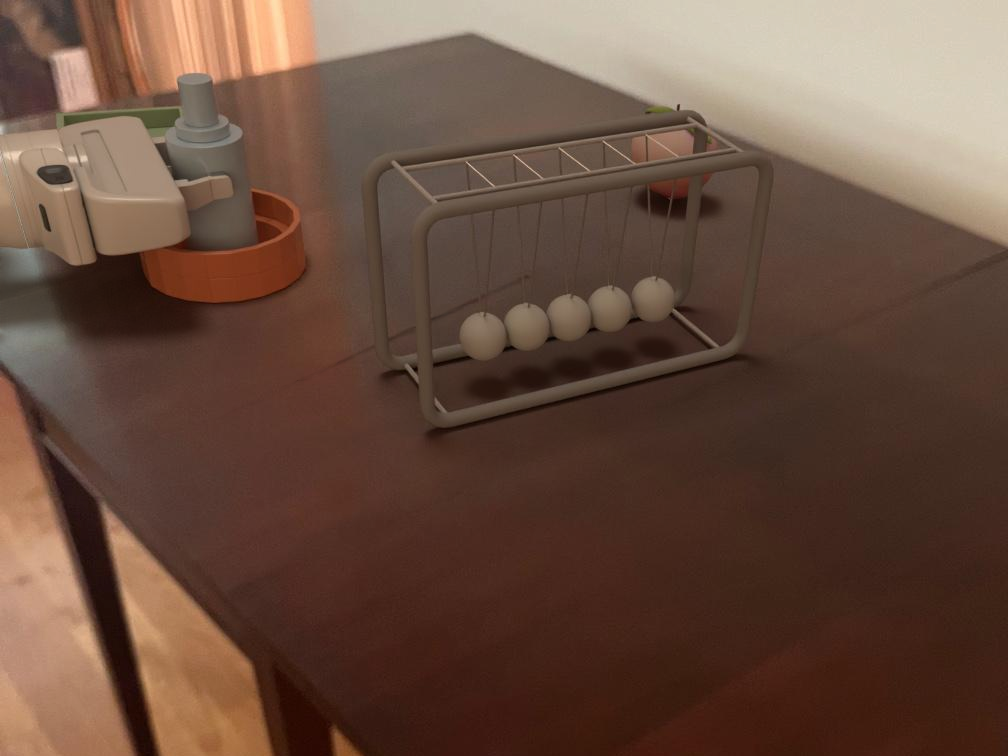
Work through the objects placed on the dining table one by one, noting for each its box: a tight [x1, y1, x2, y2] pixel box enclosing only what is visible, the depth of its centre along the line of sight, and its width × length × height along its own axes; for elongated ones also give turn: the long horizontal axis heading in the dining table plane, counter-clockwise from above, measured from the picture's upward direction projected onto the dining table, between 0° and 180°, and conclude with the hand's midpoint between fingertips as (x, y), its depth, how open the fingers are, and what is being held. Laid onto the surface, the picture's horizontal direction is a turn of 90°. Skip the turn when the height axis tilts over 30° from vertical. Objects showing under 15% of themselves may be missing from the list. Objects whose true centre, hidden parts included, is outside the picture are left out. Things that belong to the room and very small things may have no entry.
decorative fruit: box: [630, 103, 720, 200], centre depth 121 cm, size 9×8×10 cm
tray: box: [55, 105, 183, 175], centre depth 124 cm, size 18×14×2 cm
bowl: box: [138, 188, 307, 304], centre depth 106 cm, size 14×14×5 cm
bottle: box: [165, 72, 259, 252], centre depth 101 cm, size 6×6×16 cm
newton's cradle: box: [361, 109, 774, 429], centre depth 92 cm, size 30×10×18 cm, turn 119°
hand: (220, 167), depth 101 cm, fingers closed on bottle, 6 cm apart
